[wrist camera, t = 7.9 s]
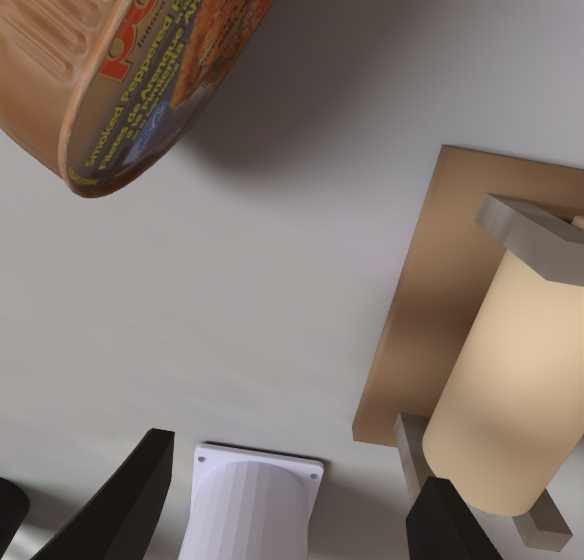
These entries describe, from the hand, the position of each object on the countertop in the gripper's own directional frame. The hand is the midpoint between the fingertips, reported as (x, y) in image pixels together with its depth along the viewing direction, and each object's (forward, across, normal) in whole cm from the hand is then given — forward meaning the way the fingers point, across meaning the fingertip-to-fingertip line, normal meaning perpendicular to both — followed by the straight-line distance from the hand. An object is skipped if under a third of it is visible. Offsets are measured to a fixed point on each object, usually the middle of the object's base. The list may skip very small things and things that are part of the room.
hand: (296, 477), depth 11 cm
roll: (+8, -9, -1) cm, 12 cm away
